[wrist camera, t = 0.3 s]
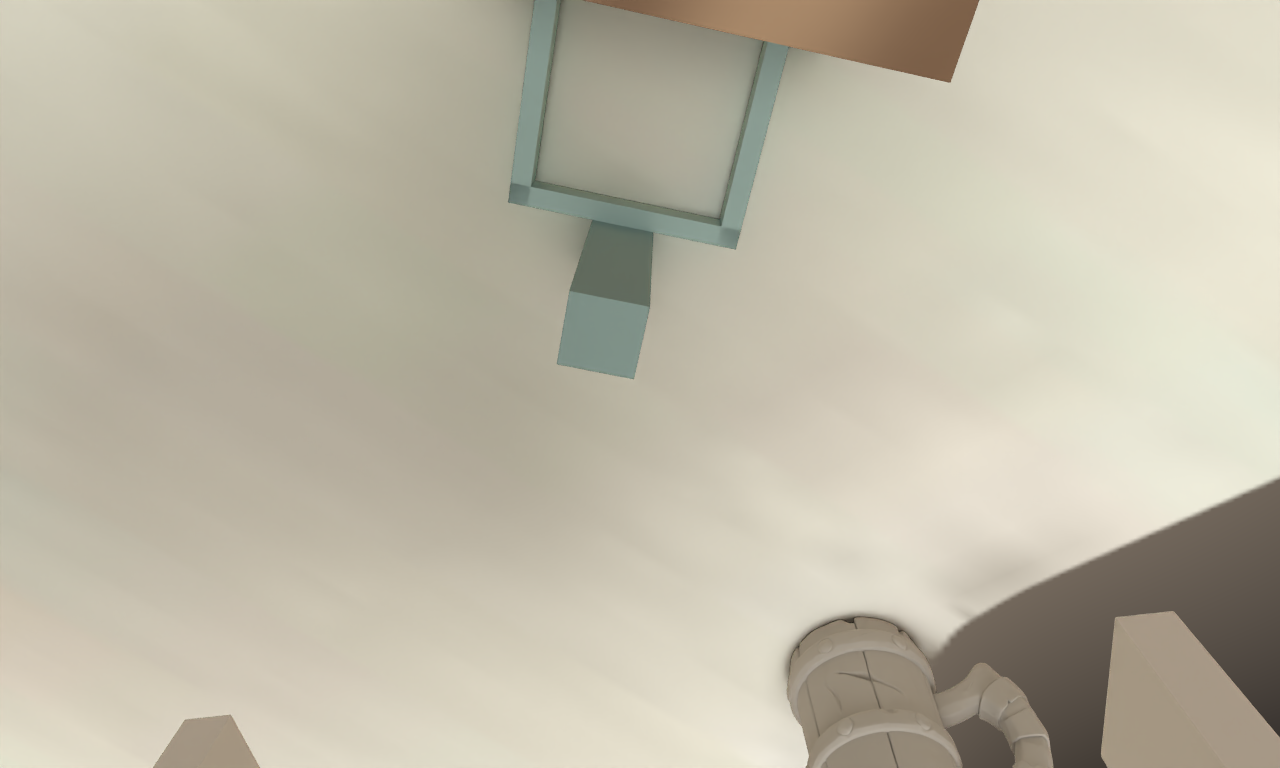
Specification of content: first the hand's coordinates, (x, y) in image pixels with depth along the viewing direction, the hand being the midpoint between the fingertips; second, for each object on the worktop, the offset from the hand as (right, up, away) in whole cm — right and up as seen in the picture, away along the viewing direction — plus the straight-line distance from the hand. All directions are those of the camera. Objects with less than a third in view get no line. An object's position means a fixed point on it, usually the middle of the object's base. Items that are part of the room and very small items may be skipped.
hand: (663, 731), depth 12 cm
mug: (+13, -10, +32) cm, 36 cm away
